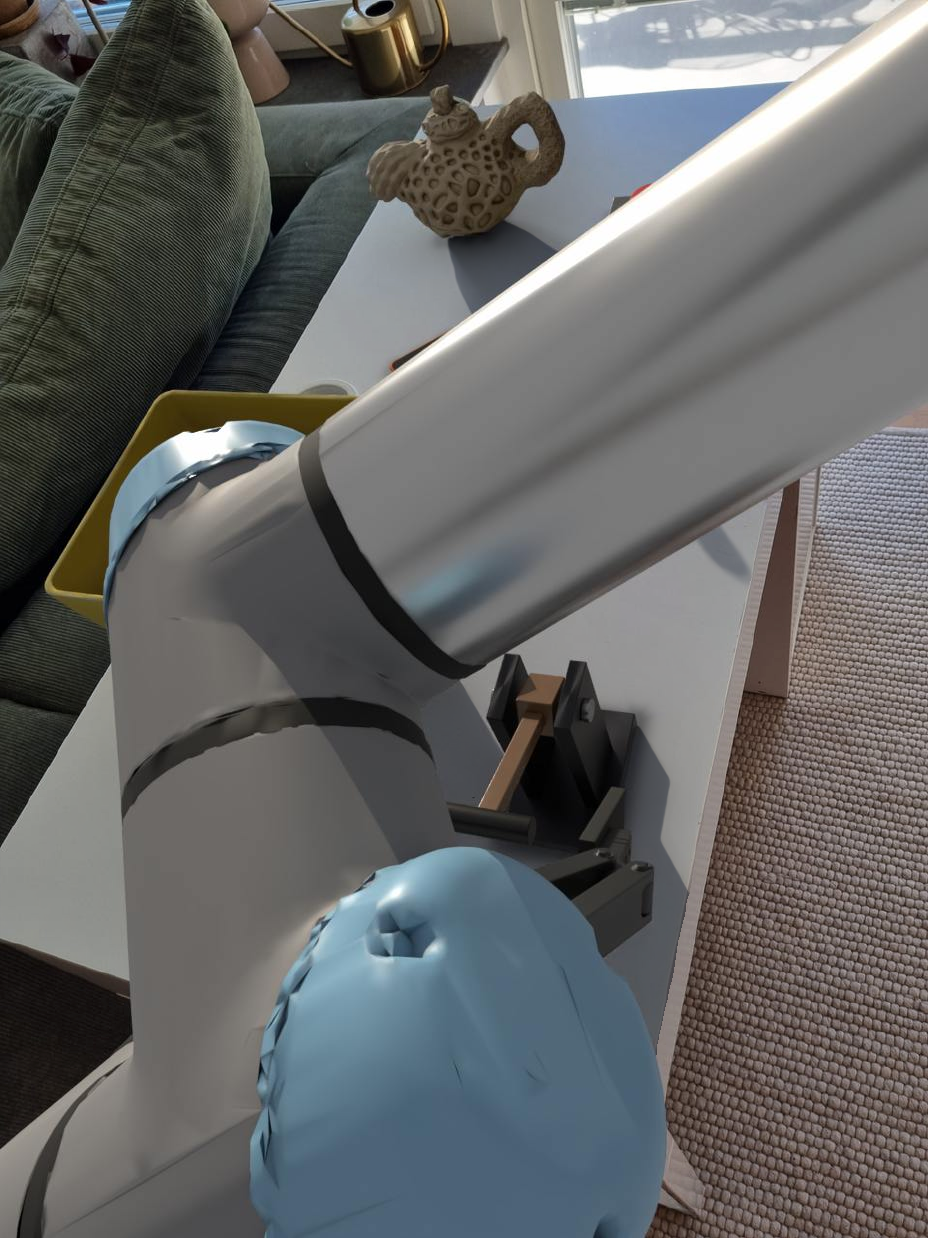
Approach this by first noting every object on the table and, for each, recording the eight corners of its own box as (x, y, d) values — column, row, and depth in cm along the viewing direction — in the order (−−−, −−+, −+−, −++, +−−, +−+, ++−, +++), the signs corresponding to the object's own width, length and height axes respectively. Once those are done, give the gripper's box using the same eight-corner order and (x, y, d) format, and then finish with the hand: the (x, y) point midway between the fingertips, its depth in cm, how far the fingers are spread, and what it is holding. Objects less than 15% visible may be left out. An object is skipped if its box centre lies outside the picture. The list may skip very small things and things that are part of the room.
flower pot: (368, 744, 70) (272, 623, 56) (163, 706, 77) (35, 590, 63) (445, 541, 79) (379, 394, 65) (255, 524, 86) (160, 389, 72)
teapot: (379, 271, 102) (328, 140, 90) (398, 207, 108) (352, 76, 96) (573, 244, 96) (546, 99, 84) (581, 177, 102) (557, 33, 90)
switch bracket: (609, 860, 60) (577, 779, 50) (506, 840, 63) (455, 760, 53) (637, 721, 65) (613, 622, 55) (540, 709, 68) (500, 611, 57)
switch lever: (529, 859, 47) (525, 823, 45) (437, 841, 48) (430, 807, 47) (590, 711, 56) (588, 679, 55) (511, 701, 58) (507, 669, 56)
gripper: (34, 1050, 36) (323, 821, 56) (641, 1254, 28) (728, 899, 48) (15, 872, 35) (319, 701, 54) (654, 1032, 26) (739, 760, 46)
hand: (510, 794), depth 51 cm, fingers open, 11 cm apart
